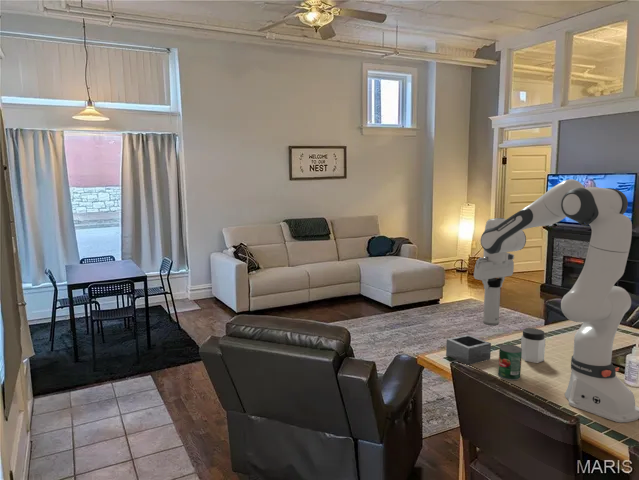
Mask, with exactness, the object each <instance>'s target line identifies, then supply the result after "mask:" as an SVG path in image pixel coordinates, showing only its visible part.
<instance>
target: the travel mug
mask: <svg viewBox="0 0 639 480" xmlns="http://www.w3.org/2000/svg"><path fill="white" fill-rule="evenodd" d="M501 281H502V279H501V278H492V279H488V282H487V283H488V285H490V287H489V289H484V299H483V318H482V319H483V321H482V322H483V324H484V325H486V326H491V327H492V326H493V327H494V326H498V325H500V324H499V319H500V307H501V305H500V304H501V288H502V287H501V285H500V284H501Z"/></svg>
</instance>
